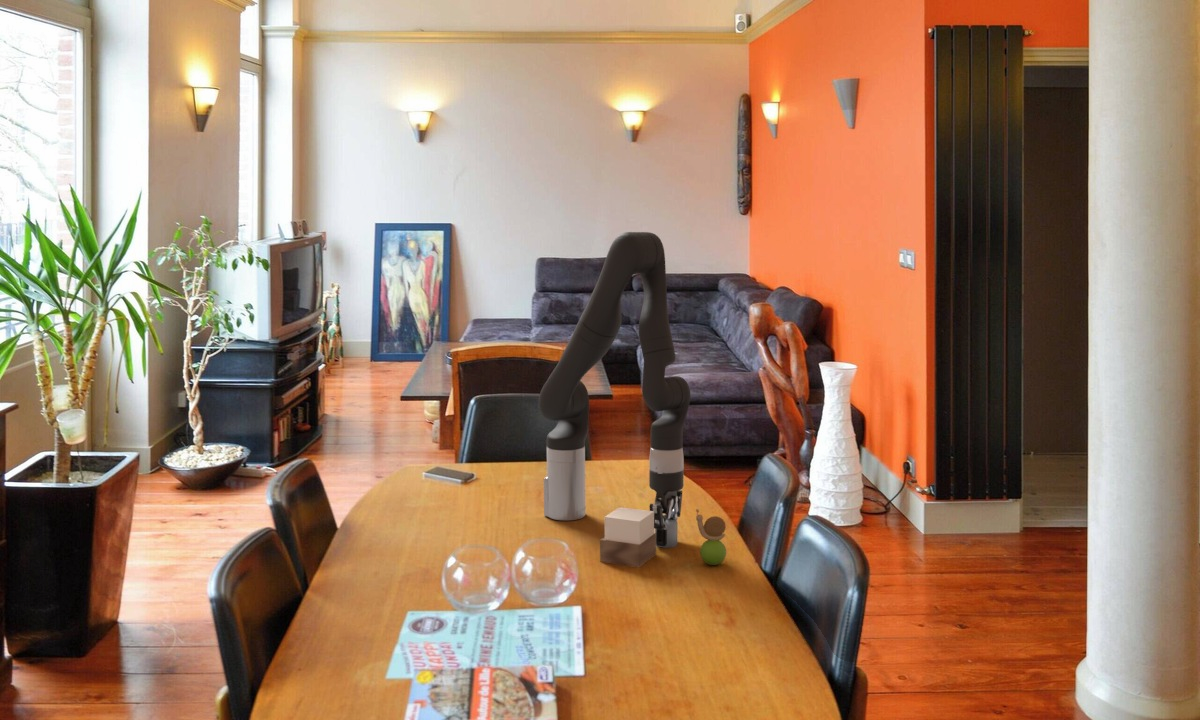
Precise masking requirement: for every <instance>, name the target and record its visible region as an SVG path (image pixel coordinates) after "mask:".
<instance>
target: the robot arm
mask: <svg viewBox="0 0 1200 720" xmlns="http://www.w3.org/2000/svg"><path fill="white" fill-rule="evenodd" d="M665 255H666V254H665V248H664V244H663V242H662V240H661V239H660V237H659V236H658V235H656V234H655V233H653V232H649V231H625V232H622V233H620V234H619V235H617V236H616V237H615V238H614V239H613V241H612V242H611V245H610V247H609V248H608V251H607V255H606V257H605V260H604V262H603V266H602V269H601V270H600V271H601V272H600V274H599V277H598V280H597V282H596V284H595V286H594V289H593V291H592V293H591V295H590V298H589V299H588V302H587V304H586V306H585V308H584V310H583V311H582V314H581V315H580V318H579V320H578V321H577V324H576V325H575V327H574V331H573V333H572V336H571V337H570V339H569V341H568V343H567V344H566V347H565V348H564V351H563V353H562V354H561V357H560V359H559V360H558V362H557V364H556V365H555V367H554V369H553V371H552V372H551V374H550V375H549V377H548V378H547V380H546V381H545V383H543V386H542V388H541V390H540V393H539V397H538V408H539V411H540V414H541V415H542V417H543V418H545V419H546V420H549V421H558V422H557V424H556V426H555V427H554V428H553V429H552V430H551V431H549V433H548V434H547V435H546V476H545V477H544V478H543V516H544V517H548V518H549V519H552V520H557V521H575V520H579V519H582V518H584V517H586V507H587V506H586V439H587V436H588V433H589V421H590V420H589V417H590V396H589V392H588V389H587V387H586V385H585V383H584V382H583V381H581V380H582V378H584V376H585V375H586V374H587V373H588V372H589V371H590V370H591V369H592V368H593V367H594V366H595V365H596V364H597V363H599V362H600V361H601V360H602V359H603V357H604V356H606V354H607V353H608V351H609V350H610V348H611V347H612V345H613V343H614V341H615V339H616V337H617V335H618V333H619V331H620V329H621V326H622V319H623V318H622V305H621V303H622V302H621V299H622V296H623V293H624V290H625V289H626V287H627V284H628V283H629V282H630V280H631V278H632V276H633V275H640V279H641V282H642V288H643V302H642V308H641V312H640V318H639V322H638V338H639V343H640V349H641V354H642V359H643V370H642V385H641V387H642V389H641V390H642V391H641V393H642V397H643V401H644V403H645V405H646V406H647V407H648V409H649V410H651V411H653V412H662V415H661V417H660V418H658V419H656V420H654V421H653V422H652V424H651V426H650V451H649V459H648V460H649V462H648V464H649V466H648V468H649V470H648V471H649V472H648V475H649V478H648V480H649V481H648V483H649V488H650V489H651V490H653V491H655V498H654V503H650V504H649V507H648V508H649V511H654V530H655V529H656V544H657V545H658V546H665V545H666V544H667V522H668V520H669V519H671V520H675V521H677V522H678V520H679V519H678V518H680V517H681V512H682V502H683V490H682V489H683V488H684V474H685V473H684V472H685V471H684V470H685V469H684V464H685V463H684V459H685V458H684V450H683V437H684V436H683V434H684V433H683V430H684V425H685V422H686V418H687V415H688V411H689V407H690V403H691V390H690V386H689V383H688V382H687V380H686V379H685V378H683V377H681V376H679V375H678V376H677V375H674V376H672V375H671V376H667V377H666V375H665V374H666V368H667V367H669V366H671V365H673V364H674V363H675V361H676V352H675V347H674V342H673V341H674V340H673V337H672V336H673V335H672V331H671V326H670V321H669V310H668V299H667V298H668V295H667V277H666V276H667V271H666V256H665ZM663 519H664V522H663ZM658 546H657V547H658Z"/></svg>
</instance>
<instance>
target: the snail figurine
mask: <svg viewBox="0 0 1200 720" xmlns="http://www.w3.org/2000/svg"><path fill="white" fill-rule="evenodd" d="M695 512H696V518H695V519H696V521H697V527H698V531H699V534H700V535H701V536H702V537H703V538H704V539H705V541H704V542H703V543H702V545H701V547H700V548H699V549H700V551H699V552H700V553H699V554H700V557H701V559H702V560H703V562H704V563H705V564H707V565H709V566H716V565H719V564H721V563H722V562H723V561H724V560H725V559H726V556H727V548H726V545H725V544H724V543H723V542H722V541H721V540H722V539H724V538H725V536H726V534H725V531H726V527H727V526H726V522H725V521H724V519H723V518H722V517H720V516H711V517H708V519H706V520H705V522H703V519H704V517H703V515H702V514H699V512H700V510H699V508H698V509H697V508H696V509H695Z"/></svg>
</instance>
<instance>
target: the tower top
mask: <svg viewBox="0 0 1200 720" xmlns="http://www.w3.org/2000/svg"><path fill="white" fill-rule="evenodd" d="M654 533H655V528H654V511H650V510H646V509H638V508H630V507H624V506H623V507H621V506H619V507H618V508H616V509H614V510H613V511H611V512H610V513H608V514H607V515H605V516H604V537H605V540H610V541H617V542H624V543H631V544H638V545H640V544H641V543H642V542H644V541H645V540H646V539H648V538H649V537H650V536H652V535H653V534H654Z"/></svg>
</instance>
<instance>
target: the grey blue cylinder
mask: <svg viewBox="0 0 1200 720" xmlns="http://www.w3.org/2000/svg"><path fill="white" fill-rule="evenodd" d="M663 522H664V519H663ZM654 533H656V529H655V528H654ZM677 546H678V520H677V521H675V520H671V519H669V520H668V522H667V544H666V545H665V546H658V545H657V544H656V547H658V548H663V549H669V548H674V547H677Z"/></svg>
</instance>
